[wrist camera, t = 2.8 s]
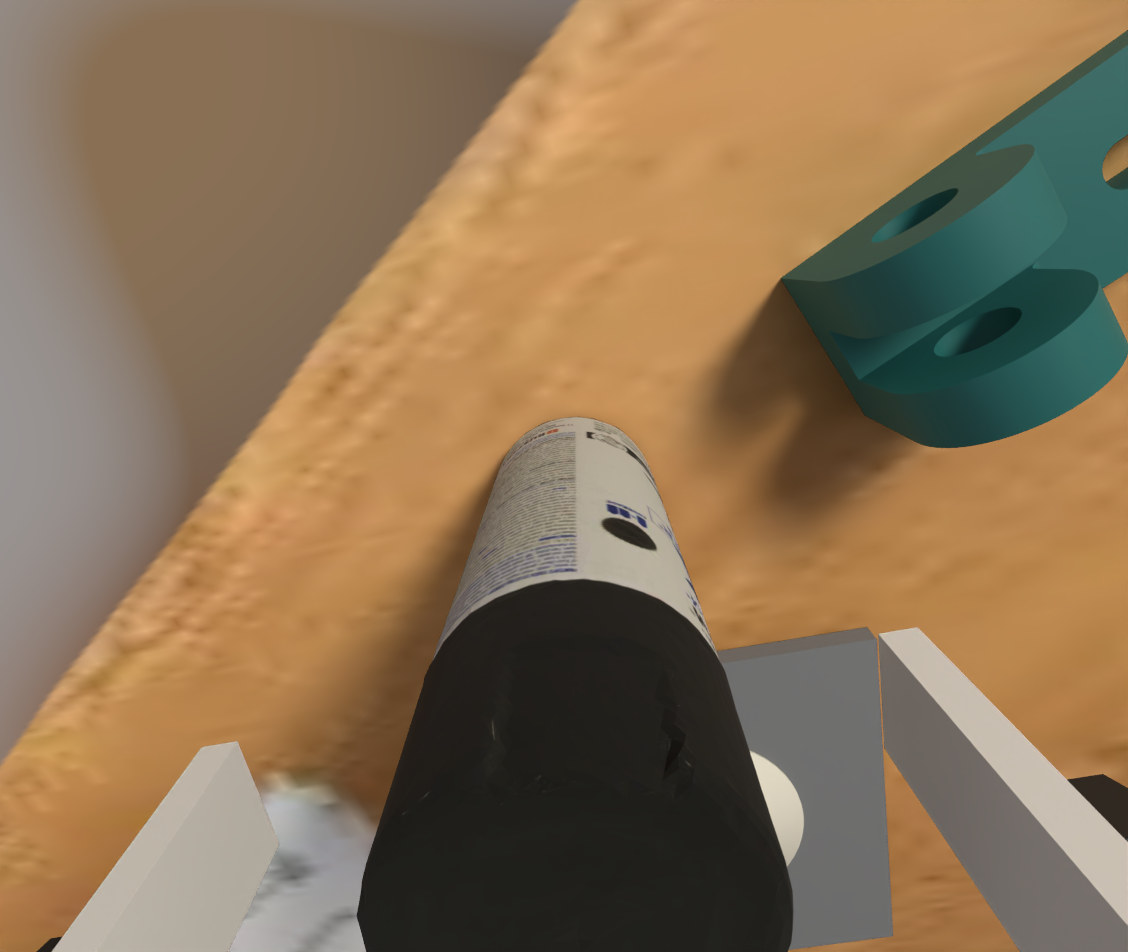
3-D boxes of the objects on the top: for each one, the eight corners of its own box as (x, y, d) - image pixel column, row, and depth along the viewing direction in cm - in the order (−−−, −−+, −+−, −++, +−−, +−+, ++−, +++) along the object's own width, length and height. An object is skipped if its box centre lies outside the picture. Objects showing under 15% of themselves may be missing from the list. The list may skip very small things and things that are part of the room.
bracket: (862, 414, 28) (971, 470, 20) (779, 278, 26) (863, 285, 19) (1299, 128, 25) (1621, 70, 17) (1235, -48, 23) (1559, -199, 15)
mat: (867, 627, 31) (878, 641, 30) (884, 918, 36) (894, 939, 35) (482, 688, 32) (479, 704, 31) (555, 962, 37) (555, 984, 36)
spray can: (645, 564, 30) (781, 1102, 11) (492, 557, 30) (357, 1087, 11) (658, 417, 28) (855, 760, 9) (494, 410, 28) (332, 739, 9)
